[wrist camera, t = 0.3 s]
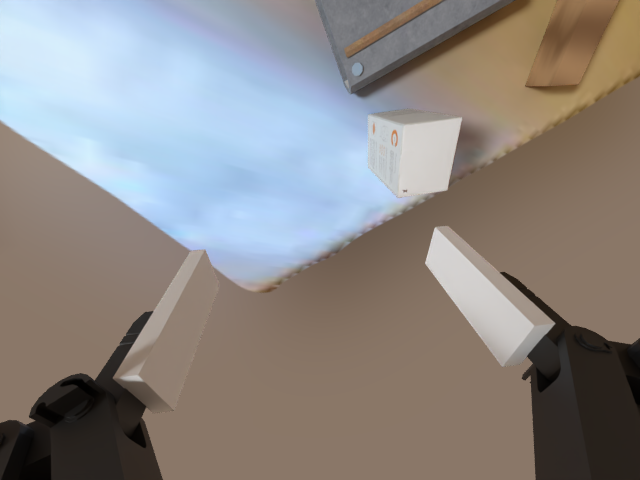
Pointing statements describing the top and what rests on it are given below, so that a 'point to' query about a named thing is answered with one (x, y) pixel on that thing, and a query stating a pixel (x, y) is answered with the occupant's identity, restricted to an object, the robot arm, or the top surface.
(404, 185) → the small box
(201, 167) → the top surface
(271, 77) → the top surface
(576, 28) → the rail
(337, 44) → the book
